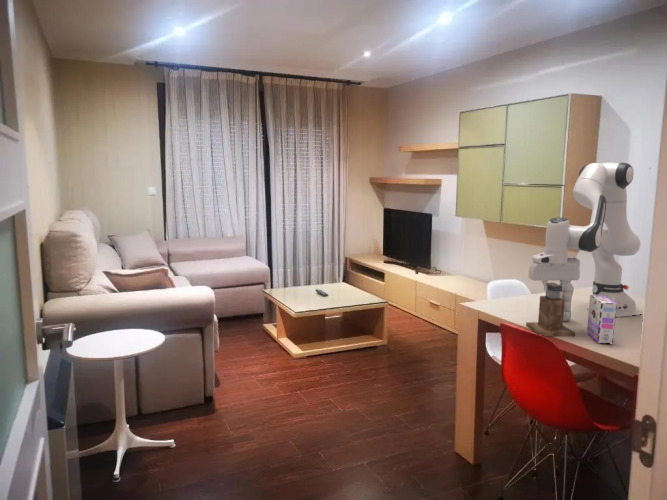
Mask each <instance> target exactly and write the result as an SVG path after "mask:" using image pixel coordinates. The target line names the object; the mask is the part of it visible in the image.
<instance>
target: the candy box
mask: <svg viewBox="0 0 667 500" xmlns="http://www.w3.org/2000/svg"><path fill="white" fill-rule="evenodd" d="M588 304H589V305H588V307H589V310H588V317H587V328H586V329H587V330H586V331H587V332H586V333H588V334H589V335H588V334H587V335H588V336H590V337H591V339H593V340H594V341H595V342H596V343H597V344H600V343H613V344H614V335H615V326H616V318H617V317H616V309H617V304H616V303H615V302H613V301H612V300H610V299H609V298H607V297H606V296H602V295H592V294H589V303H588Z"/></svg>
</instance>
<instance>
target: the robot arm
mask: <svg viewBox="0 0 667 500" xmlns="http://www.w3.org/2000/svg"><path fill="white" fill-rule="evenodd" d="M634 175H635V174H634V168H633V166H632V165H631V164H630V163H626V162H610V161H609V162H599V163H598V162H592V163H588V164H585V165H583V166H582V167H581V168H580V170H579V173H578V178H577V180H576V182H575V184H574V186H573V190H572V196H573V199H574V200H575V201H576V202H577V203H578V204H579V205H580V206H583V207H585V208H586V209H589V210H591V211H592V212H591V217H590V222H589V224H588V225H585V226H581V225H574V224H572V225H571V224H570V220H569V218H567V217H560V216H559V217H552V218H550V219H549V220H548V222H547V225H546V230H545V246H544V250H543V252H540V253H537V254H534V255H532V256H531V260H532V262H531V263H530V265H529V269H528V278H529V280H532V281H541V283H542V286H543V290H544V292H546V291H549V288H550V287H548V286H547V284H546V283H548V281H559V282H560V283H559V284H560V286H562V287H563V286H564V284H565V283H566V280H571V281H578V280H579V279H580V276H581V275H580V274H581V273H580V264H581V262H580V259H579V258H577V257H568V255H569V254H568V253H569V250H570V249H571V250H572V249H573V250H579V251H583V252H587V253H591V255H592V258H593V261H594V280H593V282H592V290H591V291H592V294H591V295H602V296H606V297H607V298H609V299H610V300H612V301H613V302H615V303H616V304H617V309H616V318H620V317H631V316H632V315H636V316H641V315H642V312H641V311H639V310H638V309H637V306H636V305H637V304H636V301H635V300H634V299H633V298H632V297H631V296H630V295H629V294H627V293H626V291H628V290H629V289H630V286H629V285H626V284H622V283H621V282H622V276H623V275H622V273H623V268H622V265H621V264H620V263H619V262H617V260H616V258H615V256H620V257H623V256H624V257H626V256H627V257H628V256H634V255H636V254H637V253H638V252H639V251H640V249H641V241H640V238H639V236H638V235H637V234H635V233H634V231H633V230H632V228H631V227H630V224H629V222H628V216H627V215H628V214H627V201H628V200H627V199H628V195H627V193H628V192H627V187H628V186H629V185H630V184H631V183H632V182H633V179H634ZM604 224H605V226H606V228H607V229H604V227H603V226H604ZM614 255H615V256H614ZM624 290H626V291H624ZM587 310H588V311H589V306H588V308H587ZM640 314H641V315H640Z"/></svg>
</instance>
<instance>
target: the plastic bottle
mask: <svg viewBox="0 0 667 500" xmlns="http://www.w3.org/2000/svg"><path fill="white" fill-rule="evenodd" d="M571 282H572V280H566V283H565V284H564V286H563V287H562V291H560V298H561V299H563V300H565V305H564V317H563V322H570V321H571V319H572V309H571V308H572V299H573V298H572V297H573V294H574V290H575V288H574V285H572V283H571ZM558 285H560V283H559V284H558Z"/></svg>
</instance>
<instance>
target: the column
mask: <svg viewBox="0 0 667 500" xmlns="http://www.w3.org/2000/svg"><path fill="white" fill-rule="evenodd" d="M546 284H547V286H548V287H550V288H549V291H545V293H544V294H545V295H544V296H545V297H546V298H548V299H550V300H552V299H560V291H562V286H560V285H559V284H558V283H555V282H547V283H546Z"/></svg>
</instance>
